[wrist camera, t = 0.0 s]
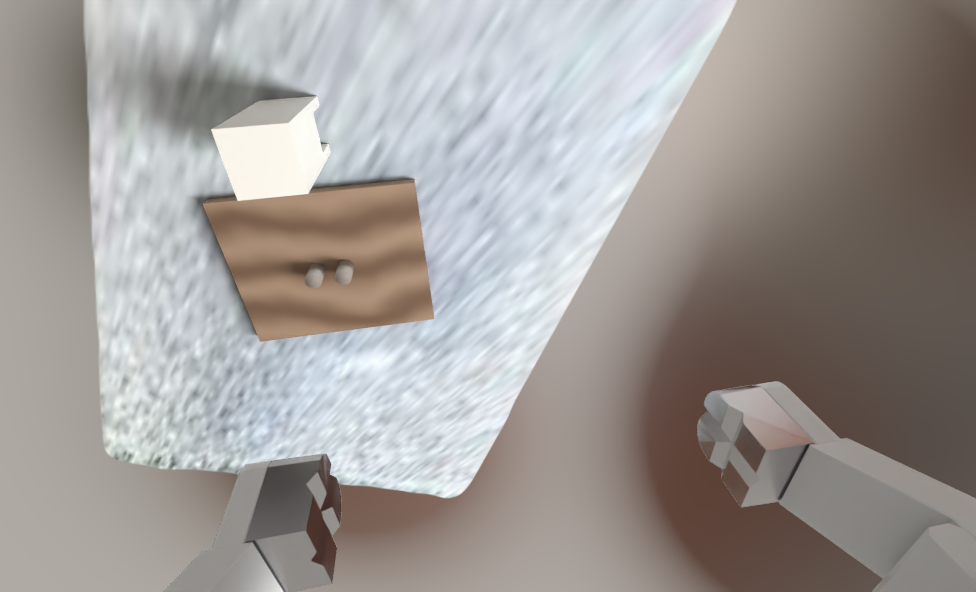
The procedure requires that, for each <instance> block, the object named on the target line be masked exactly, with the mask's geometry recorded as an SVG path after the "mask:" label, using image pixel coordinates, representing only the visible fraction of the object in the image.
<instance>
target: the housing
mask: <svg viewBox="0 0 976 592" xmlns="http://www.w3.org/2000/svg"><path fill="white" fill-rule="evenodd" d="M318 107H319V102H318V97H317V96H310V97H297V98H285V99H272V100H259V101H258V102H256V103H254V104H253V105H251V106H249V107H248V108H246V109H244V110H243V111H241V112H239V113H238V114H236V115H234V116H233V117H231V118H229V119H228V120H226V121H224V122H223V123H221V124H219V125H218V126H216V127H214V128H213V129H211V131H212V134H213V136H214V139H215V142H216V144H217V147H218V150H219V152H220V155H221V158H222V160H223V163H224V166H225V168H226V171H227V174H228V176H229V179H230V182H231V184H232V187H233V190H234V192H235V195H236V198H237V200H238V201H242V200H252V199H262V198H272V197H282V196H292V195H303V194H308V193H309V192H310V190H311V188H312V186H313V184H314V182H315V181H316V179H317V177H318V175H319V173H320V171H321V169H322V168H323V166H324V164H325V162H326V160H327V158H328V157H329V155H330V153H331V152H330V147H329V144H321V143H320V139H319V135H318V131H317V127H316V123H315V119H314V115H313V112H314V111H315V110H316V109H317V108H318Z"/></svg>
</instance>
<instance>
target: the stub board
mask: <svg viewBox="0 0 976 592" xmlns="http://www.w3.org/2000/svg"><path fill="white" fill-rule="evenodd" d="M203 207H204V209H205V211H206V214H207V216H208V219H209V221H210V223H211V226H212V228H213V230H214V233H215V235H216V238H217V240H218V242H219V245H220V247H221V249H222V252H223V254H224V257H225V259H226V261H227V264H228V266H229V268H230V271H231V273H232V276H233V278H234V280H235V283H236V285H237V287H238V290H239V292H240V295H241V297H242V299H243V302H244V304H245V306H246V309H247V311H248V314H249V316H250V318H251V321H252V323H253V326H254V328H255V330H256V333H257V335H258V337H259V340H260V342H261V341H269V340H276V339H284V338H292V337H299V336H307V335H315V334H322V333H330V332H337V331H345V330H353V329H360V328H368V327H376V326H383V325H391V324H399V323H406V322H414V321H422V320H429V319H434V313H433V306H432V299H431V292H430V285H429V278H428V271H427V264H426V257H425V251H424V244H423V237H422V230H421V223H420V216H419V209H418V202H417V195H416V188H415V181H414V179H408V180H398V181H388V182H378V183H367V184H357V185H347V186H337V187H327V188H317V189H311V190H310V192H309V193H308V194H303V195H292V196H282V197H272V198H262V199H252V200H242V201H238V200H237V198H236V196H235V197H225V198H215V199H207V200H206V201H205V202H204V203H203Z"/></svg>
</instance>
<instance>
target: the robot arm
mask: <svg viewBox="0 0 976 592" xmlns="http://www.w3.org/2000/svg"><path fill="white" fill-rule="evenodd" d="M704 405H705V407H706V408H707V409H708V411H707V412H706V413H705V414H704V415H703V416H702V417H701V418H700V419H699V423H698V427H697V433H698V440H699V443H700V446H701V448H702V450H703V452H704V454H705V455H706V457H707V458H708V460H709V461H710V462H712V463H713V464H715V465H717V466H718V467H720V468H722V481H723V482H724V483H725V485H726V486H727V488H728V489H729V491H730V492H731V494H732V495H733V497H734V498H735V500H736V501H737V502H738V504H739V505H740V507H746V506H753V505H760V504H766V503H772V502H779V501H780V503H779V504H780V505H782V506H783V507H785V508H786V509H787V510H789V511H790V512H792V513H793V514H794V515H796V516H797V517H798V518H800V519H801V520H803V521H804V522H805V523H807V524H808V525H810V526H811V527H812V528H814V529H815V530H817V531H818V532H819V533H821V534H822V535H823V536H825V537H826V538H828V539H829V540H830V541H832V542H833V543H835V544H836V545H837V546H839V547H840V548H842V549H843V550H844V551H846V552H847V553H849V554H850V555H851V556H853V557H854V558H856V559H857V560H858V561H859V562H861V563H862V564H864V565H865V566H867V567H868V568H869V569H871V570H872V571H873V572H875V573H876V574H878V575H879V576H880V577H882V578H883V580H882V581H881V582H880V583H879V585H878V586H877V587H876V588H875V589H874V590H873V591H872V592H976V499H975V498H973V497H971V496H969V495H967V494H965V493H963V492H961V491H958V490H956V489H954V488H952V487H950V486H948V485H946V484H944V483H941V482H939V481H937V480H935V479H933V478H931V477H928V476H926V475H924V474H922V473H920V472H918V471H916V470H914V469H912V468H909V467H907V466H905V465H903V464H901V463H899V462H897V461H894V460H892V459H890V458H888V457H886V456H884V455H882V454H880V453H877V452H875V451H873V450H871V449H869V448H867V447H865V446H863V445H860V444H858V443H856V442H854V441H852V440H850V439H847V438H846V439H840V438H839V437H838V436H837V435H836V434H835V433H833V432H832V431H831V430H830V429H829V428H828V427H827V426H826V425H825V424H824V423H823V422H822V421H821V420H820V419H819V418H818V417H817V416H816V415H815V414H814V413H813V412H812V411H811V410H810V409H809V408H808V407H807V406H806V405H805V404H804V403H803V402H802V401H801V400H800V399H798V398H797V396H796V395H795V394H794V393H793V392H792V391H791V390H789V388H788V387H786V386H785V385H784V384H782V383H780V382H778V381H776V382H769V383H764V384H757V385H748V386H742V387H737V388H731V389H725V390H719V391H713V392H710V393H709V394H708V395H707V396H706V399H705V402H704ZM330 469H331V462H330V460H329V458H328V456H327V454H319V455H311V456H304V457H296V458H288V459H281V460H273V461H267V462H260V463H253V464H246V465H245V466H244V467H243V469H242V470H241V471H240V473H239V475H238V477H237V480H236V483H235V486H234V488H233V491H232V494H231V497H230V499H229V502H228V505H227V507H226V510H225V513H224V516H223V519H222V522H221V524H220V527H219V529H218V532H217V535H216V538H215V540H214V543H213V546H212V548H211V549H209V550H204V551H202V552H201V553H200V554H199V555H198V556H197V557H196V558H195V559H194V560H193V561H192V562H191V563H190V565H188V567H187V568H186V569H185V570H184V571H183V572H182V573H181V574H180V575H179V576H178V577H177V578H176V579H175V580H174V581H173V582H172V583H171V584H170V585H169V586H168V587H167V589H166V590H165V591H164V592H296V591H301V590H306V589H310V588H315V587H320V586H324V585H329V584H332V581H333V575H334V567H335V560H336V553H337V547H336V544H335V542H334V540H333V537H332V535H333V534H334V533H335V532H336V530H337V529H338V528H339V526H340V521H341V512H342V507H341V506H342V505H341V492H340V486H339V483H338V480H337V478H336V477H334V476H332V475H330Z"/></svg>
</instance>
